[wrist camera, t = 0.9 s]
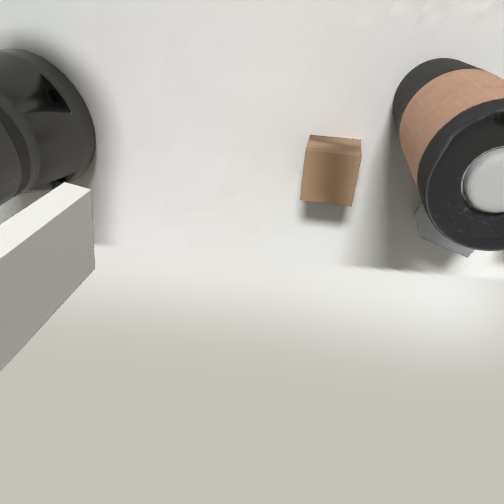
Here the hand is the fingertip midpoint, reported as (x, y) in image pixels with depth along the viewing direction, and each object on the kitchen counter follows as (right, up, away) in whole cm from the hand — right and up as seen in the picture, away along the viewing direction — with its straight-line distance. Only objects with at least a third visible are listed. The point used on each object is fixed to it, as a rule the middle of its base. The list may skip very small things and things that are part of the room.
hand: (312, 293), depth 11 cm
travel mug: (+15, +15, +25) cm, 33 cm away
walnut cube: (+7, +11, +30) cm, 32 cm away
